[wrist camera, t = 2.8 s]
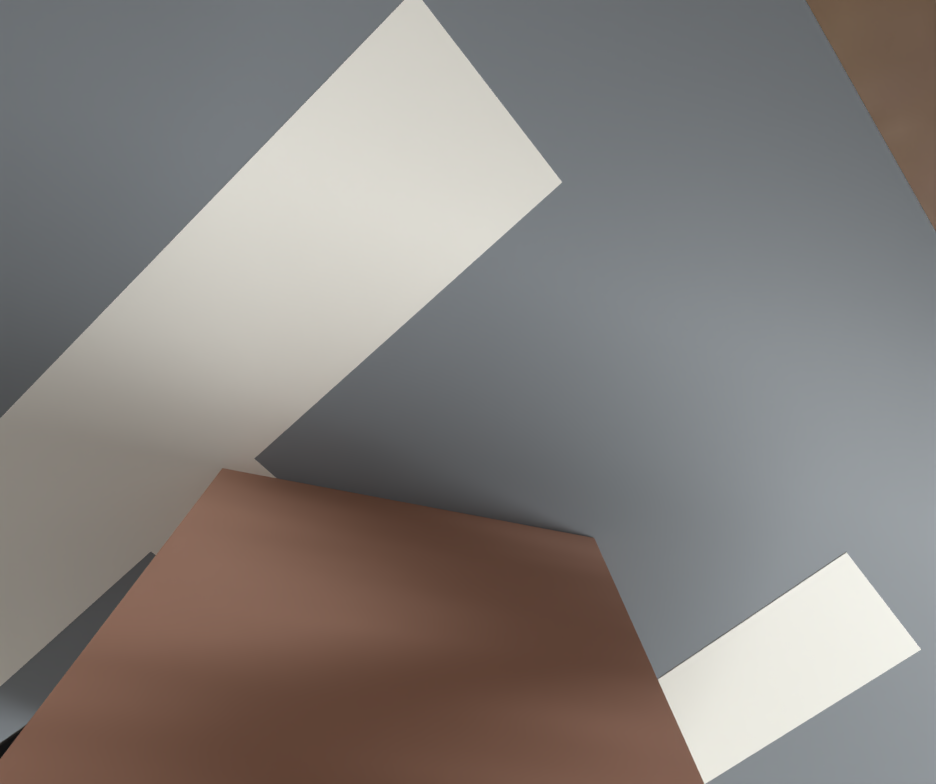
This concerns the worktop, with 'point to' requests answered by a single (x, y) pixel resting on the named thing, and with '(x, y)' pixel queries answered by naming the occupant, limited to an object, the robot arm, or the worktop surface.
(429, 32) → the board
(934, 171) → the worktop surface
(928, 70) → the worktop surface
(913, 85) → the worktop surface
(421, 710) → the terracotta block
